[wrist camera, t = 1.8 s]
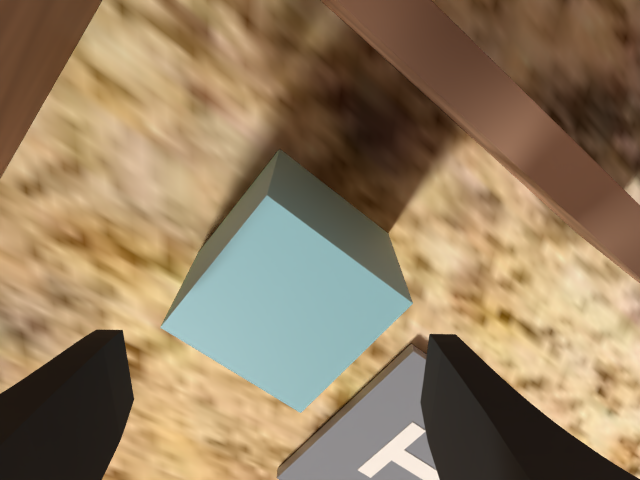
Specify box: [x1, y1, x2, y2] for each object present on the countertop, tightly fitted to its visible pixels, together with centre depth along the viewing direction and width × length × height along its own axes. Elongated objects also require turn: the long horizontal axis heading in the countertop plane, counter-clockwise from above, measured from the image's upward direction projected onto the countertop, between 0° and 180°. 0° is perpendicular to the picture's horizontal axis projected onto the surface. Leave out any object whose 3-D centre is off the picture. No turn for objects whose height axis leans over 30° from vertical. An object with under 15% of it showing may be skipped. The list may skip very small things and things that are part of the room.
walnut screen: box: [0, 0, 640, 283], centre depth 15 cm, size 19×17×6 cm
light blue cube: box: [160, 149, 413, 413], centre depth 16 cm, size 5×5×5 cm
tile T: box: [277, 344, 440, 480], centre depth 22 cm, size 9×9×1 cm
